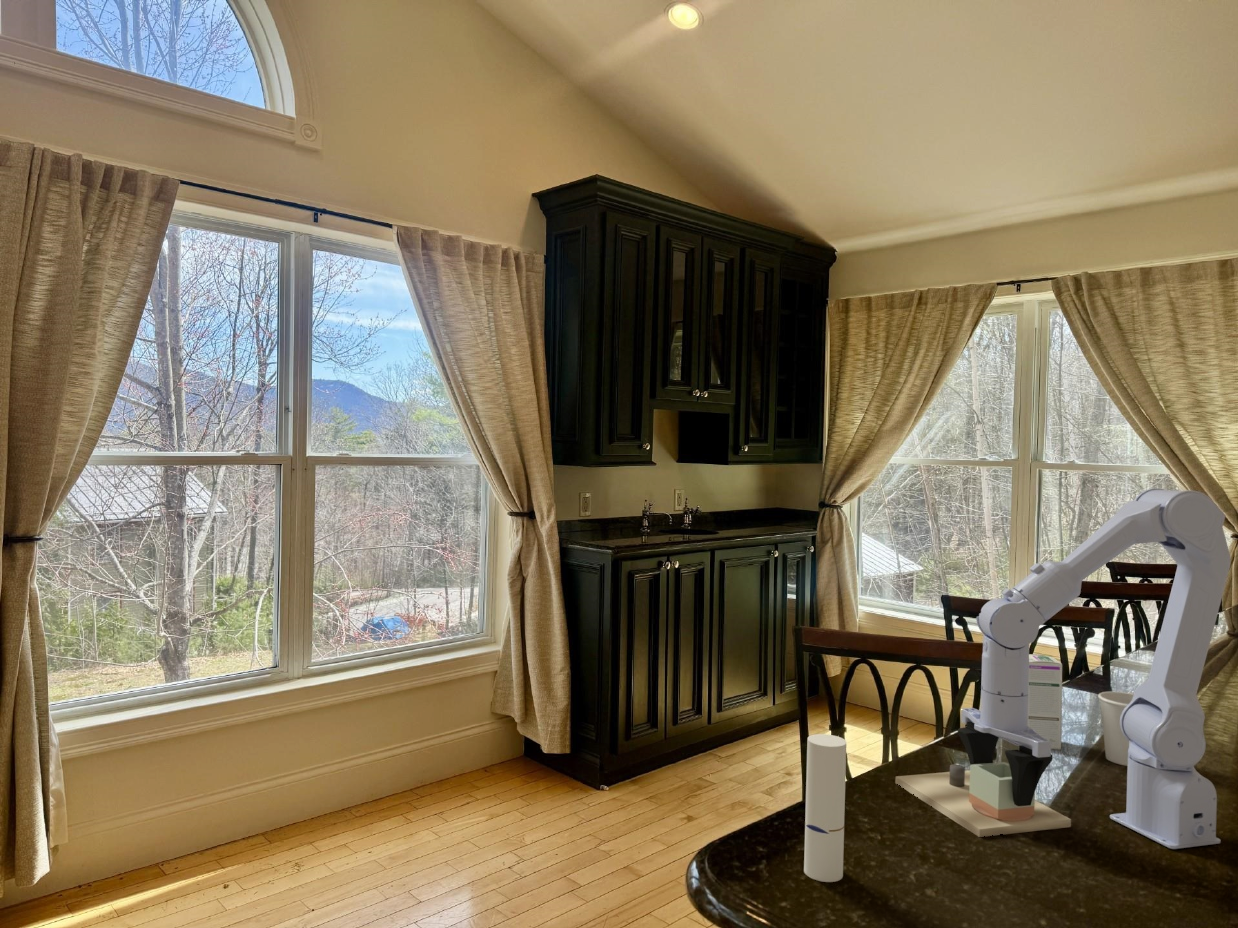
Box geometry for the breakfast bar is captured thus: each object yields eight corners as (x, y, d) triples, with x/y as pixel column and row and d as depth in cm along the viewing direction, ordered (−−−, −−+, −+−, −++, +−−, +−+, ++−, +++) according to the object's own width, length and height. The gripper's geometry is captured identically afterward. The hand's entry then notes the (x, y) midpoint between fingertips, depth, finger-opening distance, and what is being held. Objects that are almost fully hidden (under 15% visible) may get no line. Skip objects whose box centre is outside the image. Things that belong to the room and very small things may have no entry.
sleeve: (1034, 815, 110) (1035, 776, 110) (997, 818, 109) (998, 780, 109) (1004, 798, 116) (1005, 761, 116) (969, 801, 114) (970, 764, 114)
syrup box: (1062, 750, 140) (1065, 662, 140) (1024, 746, 141) (1026, 660, 141) (1052, 739, 146) (1054, 655, 146) (1015, 736, 147) (1017, 652, 147)
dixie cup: (1166, 772, 131) (1168, 707, 131) (1107, 766, 133) (1108, 703, 133) (1144, 754, 139) (1146, 693, 139) (1088, 749, 141) (1090, 689, 141)
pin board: (1070, 826, 110) (1071, 799, 110) (979, 836, 106) (980, 809, 106) (976, 775, 127) (977, 752, 127) (895, 783, 124) (896, 759, 123)
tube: (836, 863, 98) (840, 734, 98) (847, 881, 94) (851, 746, 94) (799, 863, 98) (803, 733, 98) (809, 881, 94) (813, 746, 94)
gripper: (943, 678, 118) (940, 775, 118) (1018, 708, 104) (1015, 818, 104) (986, 675, 120) (983, 771, 120) (1066, 705, 106) (1062, 813, 106)
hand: (1001, 793), depth 112 cm, fingers open, 7 cm apart
